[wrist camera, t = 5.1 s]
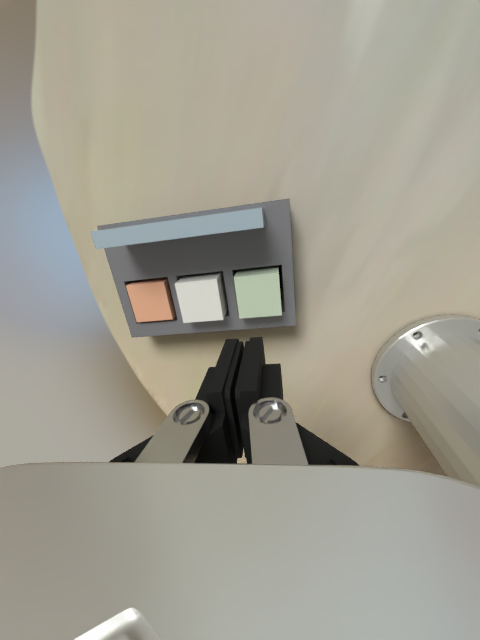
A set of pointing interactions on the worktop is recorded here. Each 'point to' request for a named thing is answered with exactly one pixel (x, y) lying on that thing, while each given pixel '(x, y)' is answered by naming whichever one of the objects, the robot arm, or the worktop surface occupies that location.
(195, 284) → the white key
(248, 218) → the keypad
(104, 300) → the worktop surface
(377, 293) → the worktop surface
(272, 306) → the sage key
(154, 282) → the terracotta key
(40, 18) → the worktop surface
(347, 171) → the worktop surface
